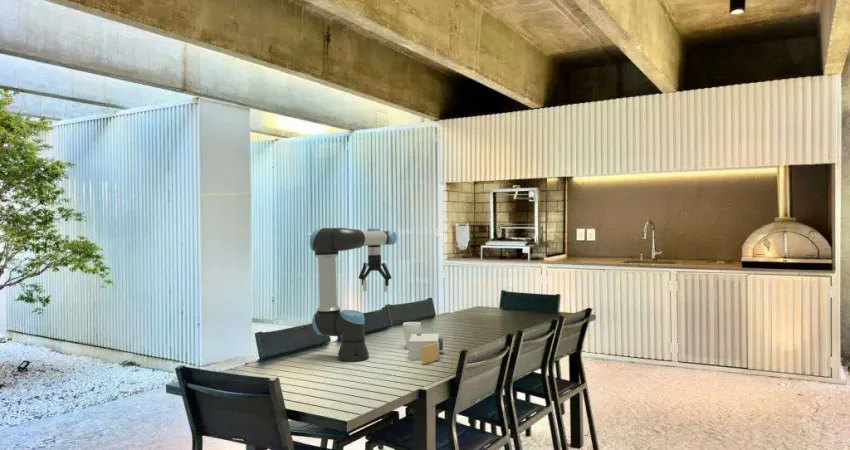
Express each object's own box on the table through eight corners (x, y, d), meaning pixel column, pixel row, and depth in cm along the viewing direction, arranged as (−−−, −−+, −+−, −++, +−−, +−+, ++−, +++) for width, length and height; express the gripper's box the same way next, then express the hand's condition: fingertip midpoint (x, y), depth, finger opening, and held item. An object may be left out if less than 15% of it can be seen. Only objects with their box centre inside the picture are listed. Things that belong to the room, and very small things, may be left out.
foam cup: (422, 345, 324) (421, 321, 324) (420, 349, 315) (419, 324, 315) (404, 345, 325) (404, 321, 325) (402, 349, 315) (401, 324, 316)
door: (440, 359, 288) (439, 342, 288) (423, 364, 278) (423, 347, 278) (437, 359, 289) (437, 342, 289) (421, 364, 279) (421, 346, 279)
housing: (442, 359, 289) (441, 339, 289) (409, 359, 290) (408, 339, 290) (443, 351, 309) (442, 332, 309) (412, 351, 310) (411, 332, 310)
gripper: (396, 254, 344) (397, 291, 344) (358, 254, 354) (359, 290, 354) (390, 254, 337) (391, 292, 337) (352, 254, 347) (353, 291, 347)
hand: (375, 291), depth 346 cm, fingers open, 13 cm apart
